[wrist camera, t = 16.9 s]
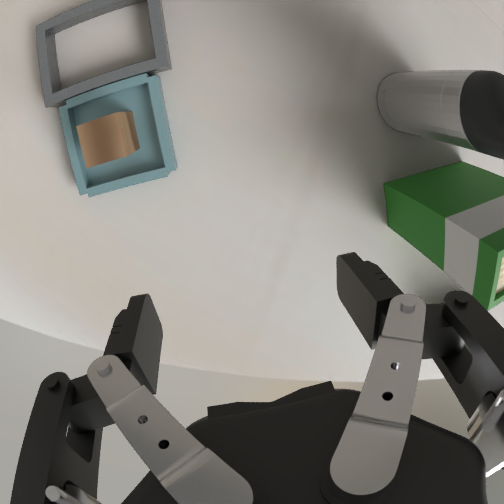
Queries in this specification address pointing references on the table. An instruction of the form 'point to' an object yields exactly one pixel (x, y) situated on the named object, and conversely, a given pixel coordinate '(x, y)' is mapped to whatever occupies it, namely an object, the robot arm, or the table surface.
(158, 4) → the holder
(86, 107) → the tray
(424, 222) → the hardback book
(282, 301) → the table surface
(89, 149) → the walnut block
